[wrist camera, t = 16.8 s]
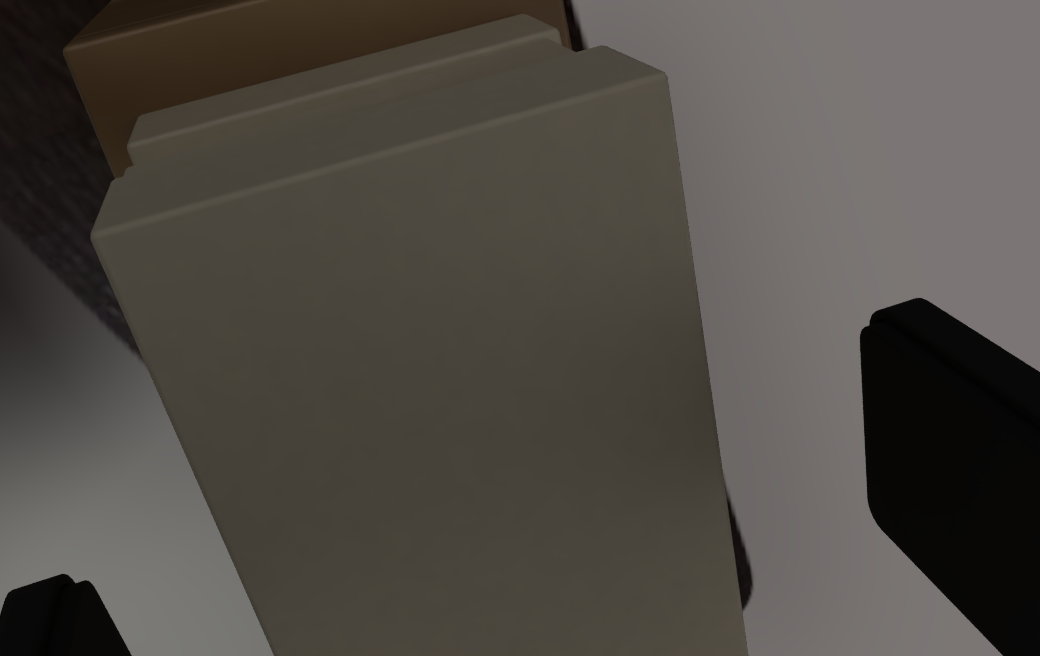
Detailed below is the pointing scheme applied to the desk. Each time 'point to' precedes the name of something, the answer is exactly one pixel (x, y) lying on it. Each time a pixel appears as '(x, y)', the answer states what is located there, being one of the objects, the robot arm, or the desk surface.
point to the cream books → (339, 90)
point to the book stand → (246, 47)
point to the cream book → (446, 370)
